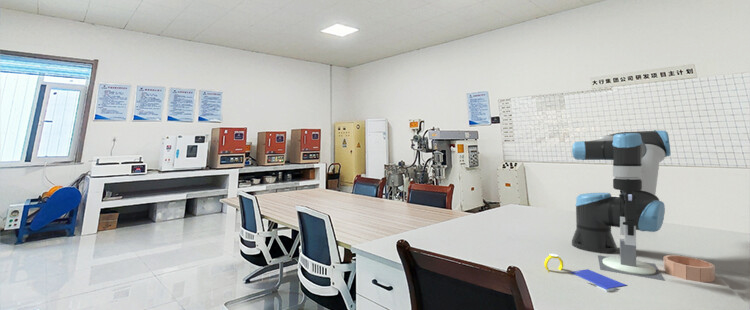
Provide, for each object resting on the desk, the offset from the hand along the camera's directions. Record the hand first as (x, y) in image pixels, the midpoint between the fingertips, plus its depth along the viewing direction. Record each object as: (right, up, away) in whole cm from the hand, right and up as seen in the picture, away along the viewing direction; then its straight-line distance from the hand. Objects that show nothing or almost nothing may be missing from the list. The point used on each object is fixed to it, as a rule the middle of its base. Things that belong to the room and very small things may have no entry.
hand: (627, 239), depth 101 cm
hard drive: (-17, -11, -8) cm, 22 cm away
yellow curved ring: (-26, -11, -1) cm, 28 cm away
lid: (0, -9, 0) cm, 9 cm away
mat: (0, -10, 0) cm, 10 cm away
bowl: (+14, -10, -7) cm, 18 cm away
